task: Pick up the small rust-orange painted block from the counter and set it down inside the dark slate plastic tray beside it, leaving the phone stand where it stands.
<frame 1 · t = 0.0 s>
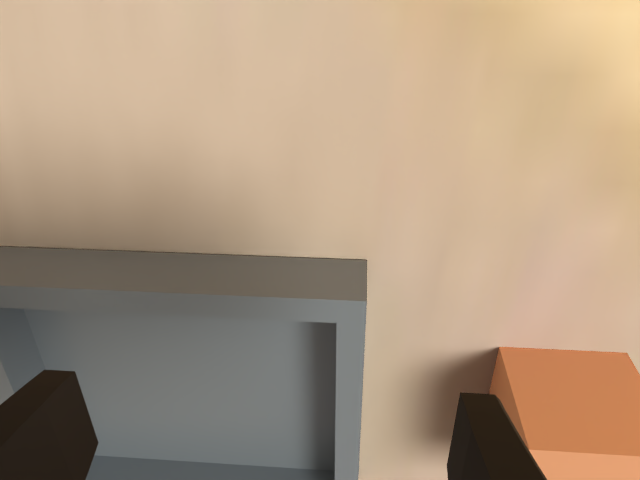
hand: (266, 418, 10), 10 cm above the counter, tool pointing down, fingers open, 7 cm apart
slate tray: (192, 375, 24), on the counter
orange block: (548, 392, 23), on the counter
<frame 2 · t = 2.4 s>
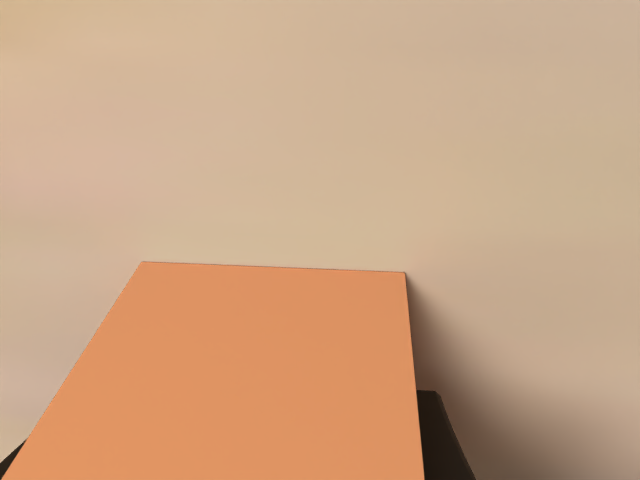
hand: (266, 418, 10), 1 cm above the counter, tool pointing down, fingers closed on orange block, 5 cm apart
orange block: (276, 364, 12), on the counter, touching gripper
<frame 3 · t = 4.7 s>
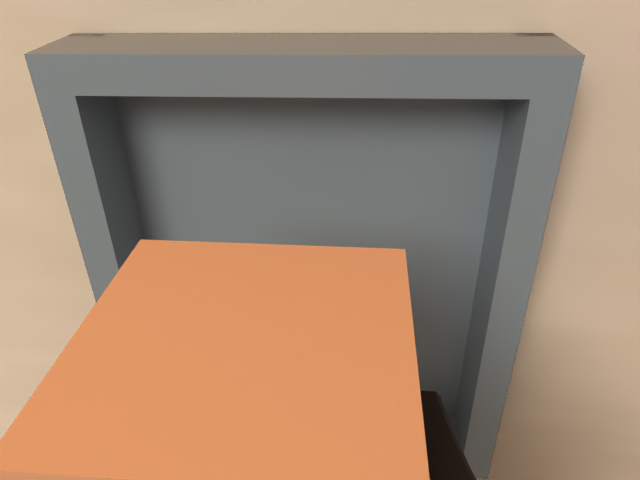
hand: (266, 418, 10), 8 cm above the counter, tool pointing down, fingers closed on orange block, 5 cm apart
slate tray: (311, 264, 19), on the counter
orange block: (276, 345, 11), point 7 cm above the counter, touching gripper
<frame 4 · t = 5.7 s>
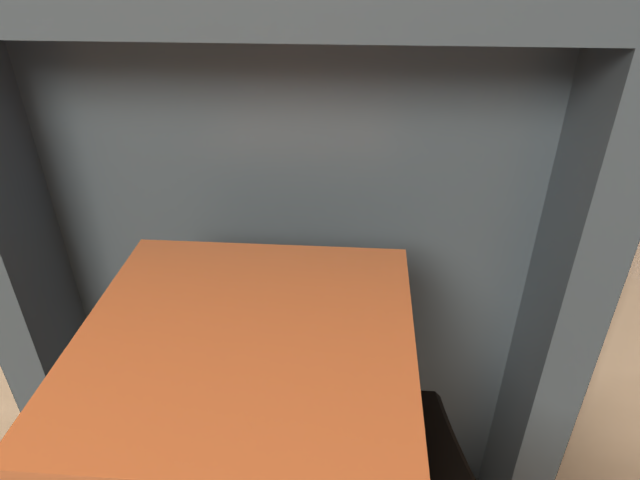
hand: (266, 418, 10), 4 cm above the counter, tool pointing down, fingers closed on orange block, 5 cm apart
slate tray: (293, 289, 14), on the counter
orange block: (277, 345, 11), point 3 cm above the counter, touching gripper
when the fingers open (3 cm above the counter, at t = 6.8 s): orange block drops 1 cm, resting on slate tray.
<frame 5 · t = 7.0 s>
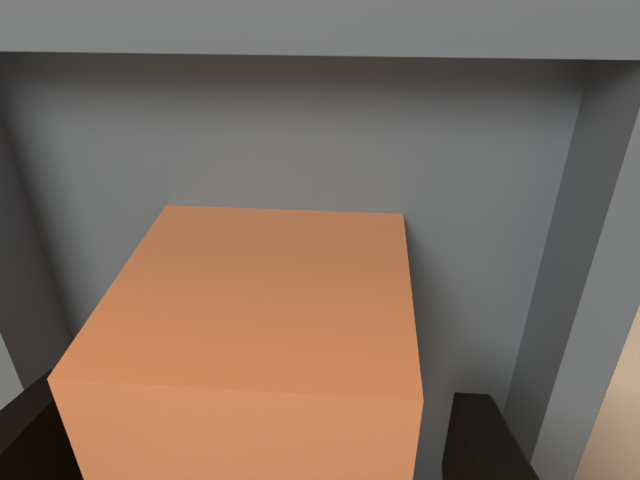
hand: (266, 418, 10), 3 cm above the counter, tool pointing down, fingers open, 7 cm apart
slate tray: (288, 306, 13), on the counter
orange block: (286, 304, 13), resting on slate tray
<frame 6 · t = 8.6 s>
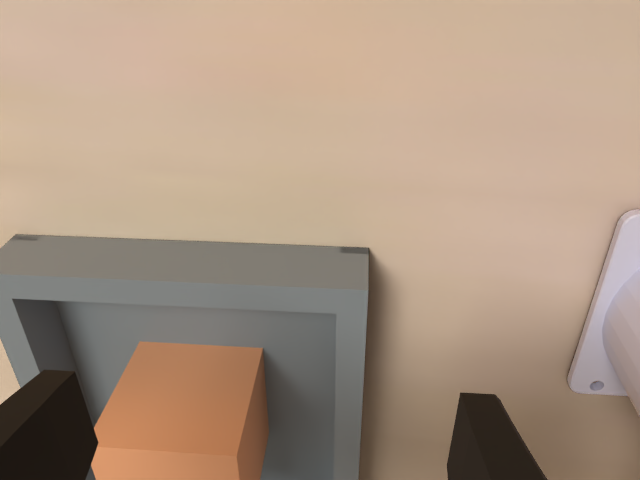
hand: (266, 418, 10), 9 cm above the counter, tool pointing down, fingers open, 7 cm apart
slate tray: (210, 388, 24), on the counter
orange block: (207, 389, 23), resting on slate tray
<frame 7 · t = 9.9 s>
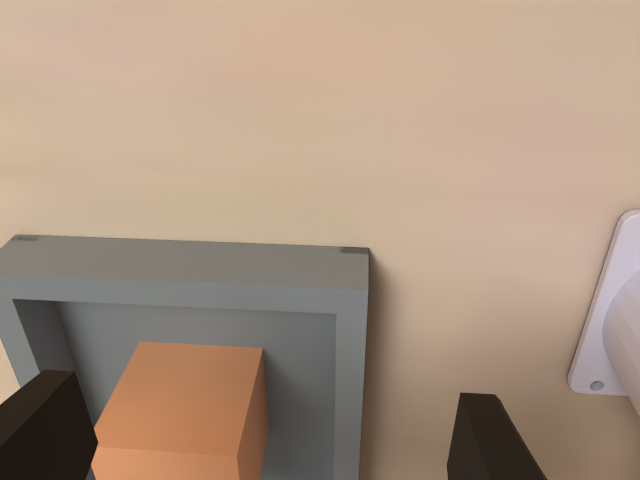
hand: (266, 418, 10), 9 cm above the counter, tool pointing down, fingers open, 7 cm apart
slate tray: (210, 388, 24), on the counter
orange block: (207, 389, 23), resting on slate tray
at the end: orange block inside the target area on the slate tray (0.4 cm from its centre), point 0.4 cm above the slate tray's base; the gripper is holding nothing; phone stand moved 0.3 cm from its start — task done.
